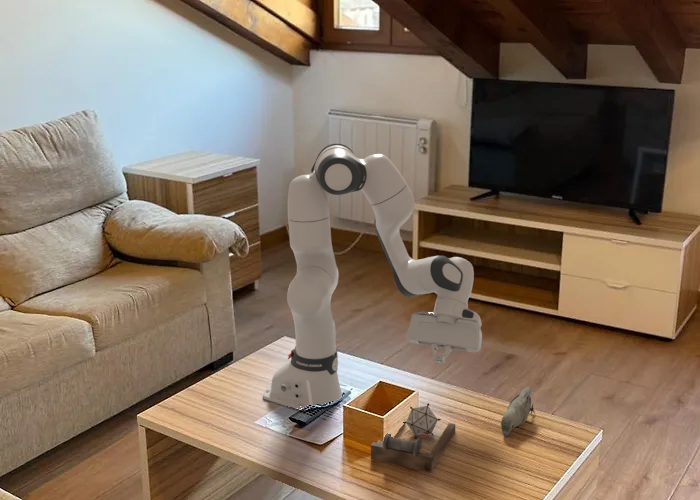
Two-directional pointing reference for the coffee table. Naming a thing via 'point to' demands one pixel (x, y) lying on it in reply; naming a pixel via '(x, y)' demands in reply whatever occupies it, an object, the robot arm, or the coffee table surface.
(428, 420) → the game die
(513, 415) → the decorative bird
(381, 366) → the coffee table surface
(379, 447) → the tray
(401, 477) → the coffee table surface
